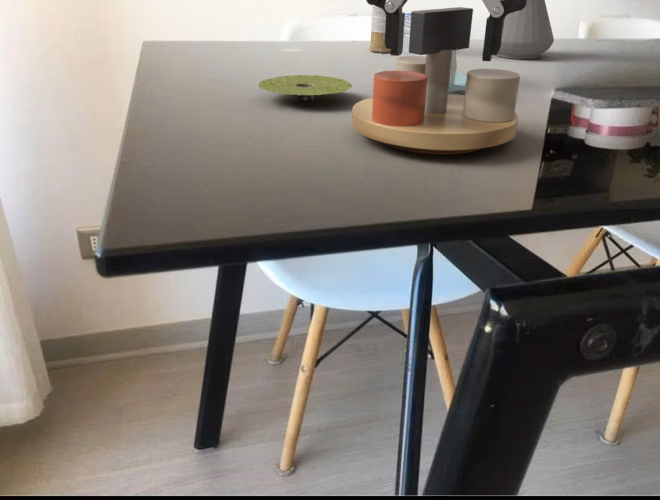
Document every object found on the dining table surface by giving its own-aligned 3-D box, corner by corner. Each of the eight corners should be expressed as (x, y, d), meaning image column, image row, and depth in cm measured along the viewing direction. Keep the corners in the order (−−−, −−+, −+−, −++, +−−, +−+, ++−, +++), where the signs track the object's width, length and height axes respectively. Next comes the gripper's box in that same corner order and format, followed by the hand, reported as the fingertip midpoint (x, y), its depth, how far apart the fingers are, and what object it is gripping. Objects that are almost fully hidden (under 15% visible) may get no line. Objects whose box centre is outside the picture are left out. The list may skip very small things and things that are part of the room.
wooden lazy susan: (423, 99, 72) (432, -1, 68) (548, 129, 62) (568, 12, 57) (318, 122, 63) (319, 6, 58) (444, 162, 52) (458, 24, 47)
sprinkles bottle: (381, 48, 113) (385, -34, 107) (400, 51, 111) (406, -33, 105) (363, 50, 111) (367, -33, 105) (383, 54, 108) (387, -32, 102)
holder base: (501, 133, 65) (502, 123, 64) (467, 162, 56) (468, 151, 56) (402, 118, 69) (403, 109, 69) (357, 142, 61) (357, 132, 60)
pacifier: (483, 94, 82) (438, 88, 83) (491, 44, 79) (444, 39, 81) (476, 106, 76) (426, 100, 77) (484, 52, 73) (433, 47, 74)
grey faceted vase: (475, 57, 106) (487, -41, 100) (490, 48, 116) (501, -42, 109) (611, 69, 98) (633, -36, 92) (614, 58, 108) (635, -38, 101)
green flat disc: (361, 93, 80) (362, 78, 79) (337, 114, 70) (337, 97, 69) (278, 87, 83) (278, 72, 82) (244, 106, 73) (243, 89, 72)
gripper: (549, -143, 53) (521, 56, 60) (385, -139, 57) (377, 47, 64) (546, -155, 47) (515, 69, 54) (362, -149, 51) (356, 58, 58)
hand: (440, 57), depth 59 cm, fingers open, 8 cm apart
